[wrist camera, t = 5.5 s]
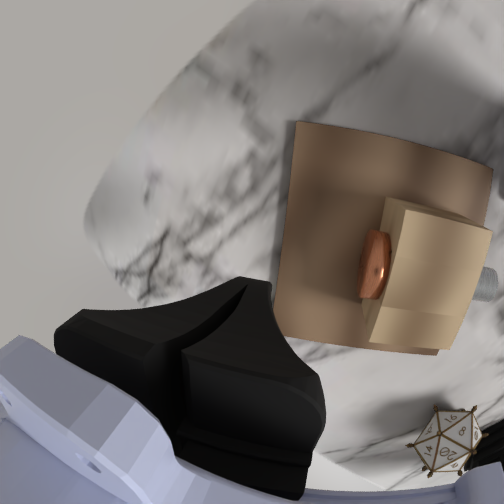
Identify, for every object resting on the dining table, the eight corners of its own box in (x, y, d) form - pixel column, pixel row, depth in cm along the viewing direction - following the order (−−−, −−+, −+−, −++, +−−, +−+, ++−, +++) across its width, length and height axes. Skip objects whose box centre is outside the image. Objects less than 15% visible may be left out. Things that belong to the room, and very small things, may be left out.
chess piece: (502, 440, 22) (525, 537, 3) (459, 462, 24) (471, 564, 6) (511, 415, 20) (544, 525, 2) (462, 440, 23) (481, 560, 4)
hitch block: (489, 168, 15) (530, 175, 10) (434, 351, 20) (451, 392, 15) (297, 122, 18) (287, 108, 13) (271, 329, 23) (256, 372, 18)
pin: (484, 247, 16) (512, 268, 12) (468, 298, 17) (490, 326, 13) (367, 222, 18) (379, 240, 14) (354, 280, 19) (361, 310, 15)
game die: (420, 401, 26) (377, 462, 21) (467, 369, 21) (431, 445, 15) (459, 438, 22) (423, 501, 16) (508, 413, 16) (480, 489, 11)
